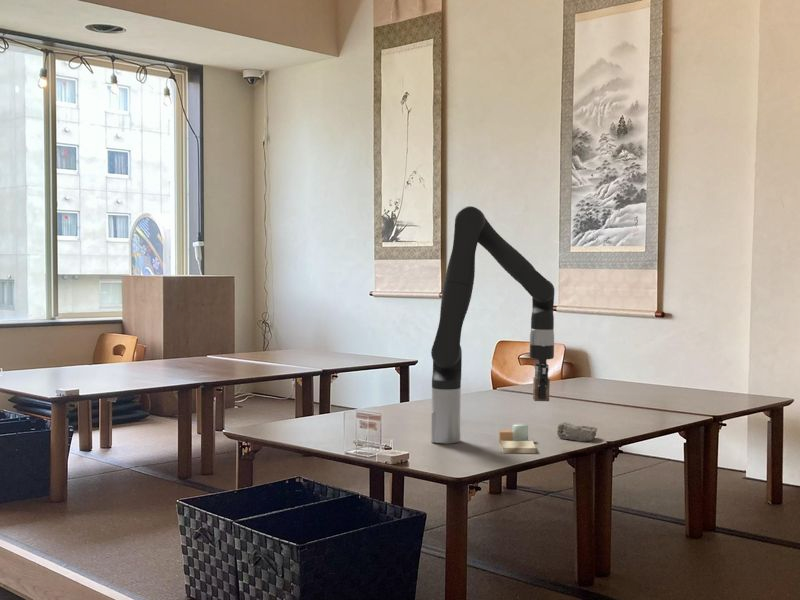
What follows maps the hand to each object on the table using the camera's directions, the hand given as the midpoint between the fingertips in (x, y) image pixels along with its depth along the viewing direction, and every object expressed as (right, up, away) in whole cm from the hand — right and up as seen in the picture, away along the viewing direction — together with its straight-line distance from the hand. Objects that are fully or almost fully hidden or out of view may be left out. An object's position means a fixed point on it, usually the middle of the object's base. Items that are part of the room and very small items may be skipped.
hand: (540, 397), depth 288 cm
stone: (+14, -15, +12) cm, 24 cm away
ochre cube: (-11, -15, +3) cm, 19 cm away
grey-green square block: (-5, -15, +8) cm, 18 cm away
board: (-8, -15, -6) cm, 18 cm away
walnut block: (0, -1, 0) cm, 1 cm away
